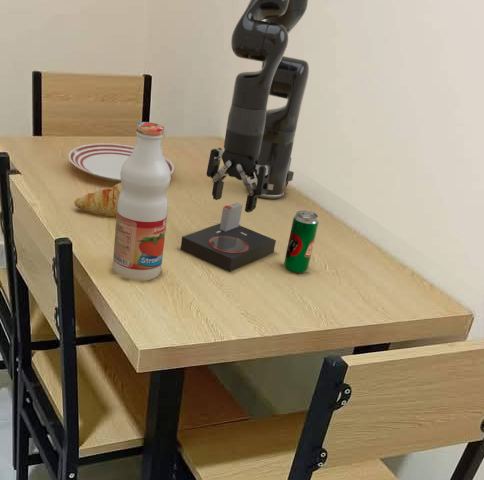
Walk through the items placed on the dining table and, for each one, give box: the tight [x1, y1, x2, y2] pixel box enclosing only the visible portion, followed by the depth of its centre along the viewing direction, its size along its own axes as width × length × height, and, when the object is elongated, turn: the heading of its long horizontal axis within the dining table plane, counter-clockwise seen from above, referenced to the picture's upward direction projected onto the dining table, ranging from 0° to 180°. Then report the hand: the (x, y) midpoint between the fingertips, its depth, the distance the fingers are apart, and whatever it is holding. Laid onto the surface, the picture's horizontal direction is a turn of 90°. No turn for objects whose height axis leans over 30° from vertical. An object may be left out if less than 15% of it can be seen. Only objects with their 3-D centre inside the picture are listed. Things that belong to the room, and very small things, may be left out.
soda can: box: [283, 210, 320, 274], centre depth 150 cm, size 5×5×12 cm
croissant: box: [73, 183, 122, 218], centre depth 167 cm, size 21×10×8 cm, turn 109°
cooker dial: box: [219, 202, 243, 232], centre depth 159 cm, size 5×2×5 cm, turn 140°
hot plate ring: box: [209, 236, 249, 254], centre depth 152 cm, size 8×8×1 cm
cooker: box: [180, 220, 277, 273], centre depth 157 cm, size 17×15×3 cm
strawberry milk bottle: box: [112, 121, 172, 282], centre depth 136 cm, size 9×9×28 cm
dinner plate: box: [67, 142, 175, 184], centre depth 191 cm, size 28×27×3 cm
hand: (232, 205), depth 157 cm, fingers open, 8 cm apart
